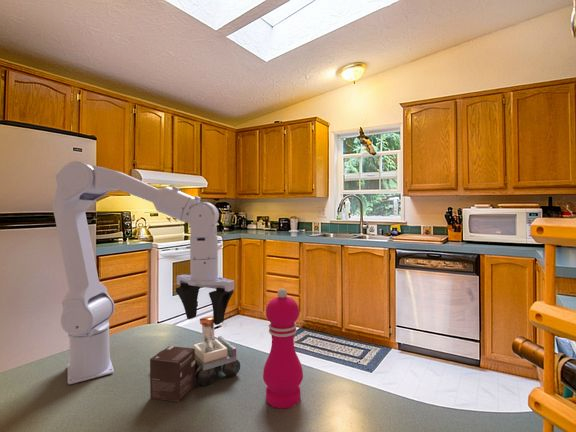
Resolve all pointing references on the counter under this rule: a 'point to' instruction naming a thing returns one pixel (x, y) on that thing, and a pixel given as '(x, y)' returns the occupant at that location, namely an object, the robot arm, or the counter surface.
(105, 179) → the robot arm
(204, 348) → the pin
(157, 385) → the box
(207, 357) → the tray
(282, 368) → the pepper mill
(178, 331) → the counter surface
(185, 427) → the counter surface
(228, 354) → the trolley
